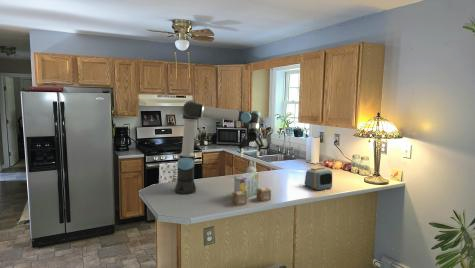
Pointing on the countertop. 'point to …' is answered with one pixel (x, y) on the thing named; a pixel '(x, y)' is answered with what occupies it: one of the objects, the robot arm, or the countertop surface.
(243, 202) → the walnut block
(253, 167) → the toy
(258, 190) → the walnut block
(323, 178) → the alarm clock
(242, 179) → the snack box
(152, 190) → the countertop surface
